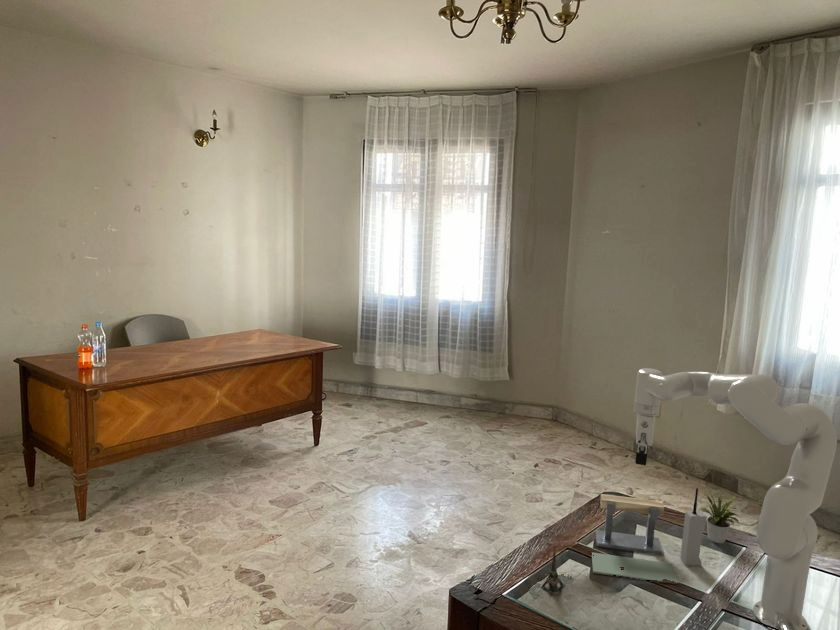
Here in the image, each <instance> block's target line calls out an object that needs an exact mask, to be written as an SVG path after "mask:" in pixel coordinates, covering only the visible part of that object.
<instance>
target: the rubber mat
mask: <svg viewBox="0 0 840 630" xmlns="http://www.w3.org/2000/svg"><path fill="white" fill-rule="evenodd" d="M591 553H592V555H591V562H592V563H591V565H592V573H594V574H599V575H604V576H605V575H606V576H612V577H614V576H613V575H616V576H615V577H618V578H619V576H625V577H630V578H629V579H632V578H635V579H634V580H639V579H640V581H646V580H657V581H662V580H663V579H667V580H670V581H674V582H676V583H678V584H679V581H678V579H677V576H676V575H677V574H676V573H675V569H674V565H673V563H671V562H663V561H658V560H656V561H655V560H650V559H644V558H643V559H642V558H634V557H629V556H620V555H613V554H605V553H600V552H594V551H593V552H591ZM593 555H594V556H593ZM620 567H624V570H621V568H620ZM625 577H624V578H625Z"/></svg>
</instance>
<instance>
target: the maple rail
mask: <svg viewBox="0 0 840 630" xmlns="http://www.w3.org/2000/svg"><path fill="white" fill-rule="evenodd" d="M606 494H607V493H606ZM606 494H604V493H600V500H599V501H600V503H599V504H600V509H604V510H606V509H607V503H608V502H610V503H615V504H616V506H615V511H621V512H626V513H627V512H629V513H636V514H645V515H648V514H650V507H651V508H658V509H659V513H658V517H659V516H660V517H661V516H662V517H664V514H665V513H664V512H665V505H664V503H663V501H662V500H656V499H655V500H648V499H649V498H647V499H645V498H638V497H630V496H629V497H628V496H623V495H621V496H620V495H615V494H613V495H606Z"/></svg>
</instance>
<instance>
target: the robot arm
mask: <svg viewBox="0 0 840 630" xmlns="http://www.w3.org/2000/svg"><path fill="white" fill-rule="evenodd" d="M779 389H780V388H779V384H778V383H777V381H776V380H775V379H774V378H772V377H770V376H768V375H764V374H757V373H756V374H755V373H753V374H752V373H750V374H748V373H747V374H746V373H743V374H741V373H731V374H730V373H714V372H708V371H682V372H681V371H680V372H675V373H672V374H668V375H663V373H662V371H660V370H658V369H655V368H650V367H649V368H648V367H645V368H644V367H643V368H640V369H639V370H638V371H637V375H636V384H635V393H634V394H635V395H634V403H633V412H634V413H636V427H635V444H636V445H637V448H636V452H635V464H636V465H641V466H647V462H648V461H647V459H648V451H649V449H648V448H649V447H652V446H653V442H654V433H655V424H656V416H659V415H660V406H661V402H667V403H668V402H669V403H670V402H674V401H676V400H678V399H682V398H685V397H705V398H709V399H710V400H711V402H713V404H716V405H727V406H728V405H729V406H730V405H731V406H733V408H734V409H735V410H736V411H737V412H738V413H739V414H740V415H741V416H742V417H743V418H745V419H746V420H747V421H748V422H749V423H750V424H752V425H753V426H754V427H755V429H758V431H759V432H760V433H762V434H763V435H764V436H766V437H767V438H768V439H769V440H771V441H772V442H774V443H777V444H778V445H784V446H785V445H787V446H789V445H794V444H796V447H795V449H794V450H793V453H792V456H791V460H790V464H789V467H788V471H787V473H786V475H785V477H783V478H782V479H781V480H779V481H778V482H776V483H774V484H773V485H772V486H771V487H769V489H768V490H767V491H766V495H765V496H764V499H763V503H762V506H761V511H760V515H759V519H758V523H757V527H756V540H757V544H758V545H759V547H760V549H761V550H762V552H764V553H765V554H766V555H767V557H766V562H765V563H766V564H765V571H764V578H763V585H762V593H761V597H760V598H761V599H760V601H758V602H756V603H754V604H753V606H752V607H753V608H752V613H753V612H754V614H755V616H756V617H757V618H758V619H759V620H760V621H762V622H763V623H765V624H768V625H770V626H771V627H774V628H776V629H779V630H807V629H808V622H807V619H806V618H805V616H803V610H804V603H805V598H806V597H805V596H806V593H807V592H806V591H807V584H808V577H809V573H810V572H809V571H810V568H811V563H812V562H811V561H812V557H813V554H814V551H815V547H816V545H817V541H818V533H819V531H818V526H817V523H816V521H815V520H814V518H813V516H812V515H811V514H812V513H814V512H815V511H817V509H819V508H820V507H821V506H822V504H823V500H824V496H825V492H826V489H827V485H828V481H829V479H830V475H831V474H830V473H831V470H832V465H833V462H834V459H835V455H836V452H837V451H836V450H837V443H838V439H837V437H838V436H837V431H836V428H835V425H834V424H833V422H832V420H831V418H830V417H829V416H828V415H827V413H825V411H823V410H822V409H821V408H820V407H818V406H815V405H814V404H810V403H805V402H803V403H802V402H800V403H794V404H790V405H788V406H786V407H783V408H782V407H781V406H780V405H779V404H777V402H775V401H777V398H778V396H779ZM754 614H753V615H754ZM755 616H754V617H755ZM756 617H755V618H756ZM762 619H763V620H762ZM764 620H766V621H764Z"/></svg>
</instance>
